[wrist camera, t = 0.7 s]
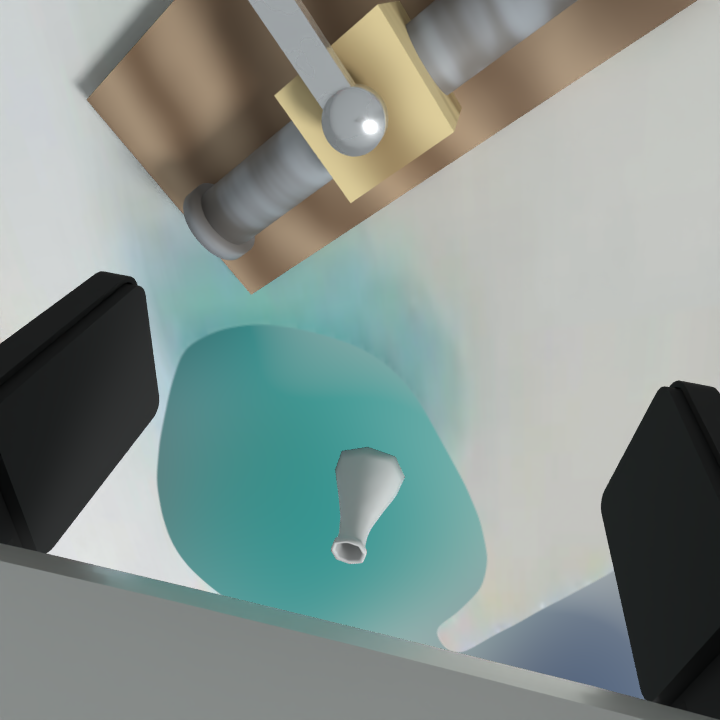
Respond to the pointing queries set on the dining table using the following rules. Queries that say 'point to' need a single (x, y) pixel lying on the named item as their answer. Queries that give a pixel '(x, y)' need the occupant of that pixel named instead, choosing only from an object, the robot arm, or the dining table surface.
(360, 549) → the flask
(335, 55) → the valve lever
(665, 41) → the dining table surface
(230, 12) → the pipe board
